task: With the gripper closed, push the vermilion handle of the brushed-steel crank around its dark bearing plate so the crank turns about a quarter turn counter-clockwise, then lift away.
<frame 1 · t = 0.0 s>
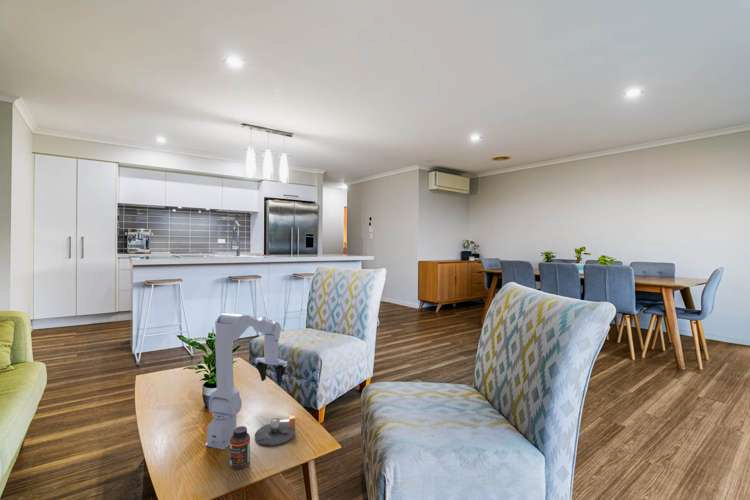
hand: (271, 381, 152), 10 cm above the table, fingers open, 7 cm apart
bearing plate: (275, 435, 129), on the table
crank: (282, 424, 130), point 4 cm above the table, hinge at 0.0°
supplement bottle: (240, 465, 112), on the table
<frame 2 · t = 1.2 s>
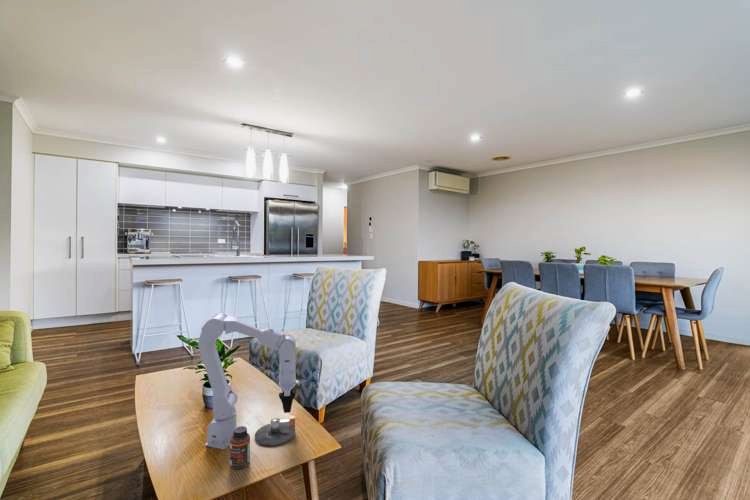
hand: (287, 407, 130), 10 cm above the table, fingers open, 7 cm apart
nothing on the table moved.
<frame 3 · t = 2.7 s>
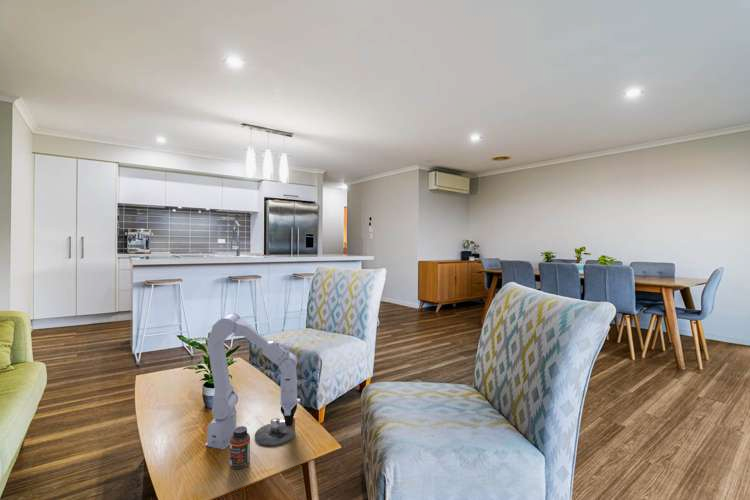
hand: (289, 425, 128), 4 cm above the table, fingers closed
crank: (282, 424, 130), point 4 cm above the table, hinge at 0.0°, touching gripper
everything else where it was.
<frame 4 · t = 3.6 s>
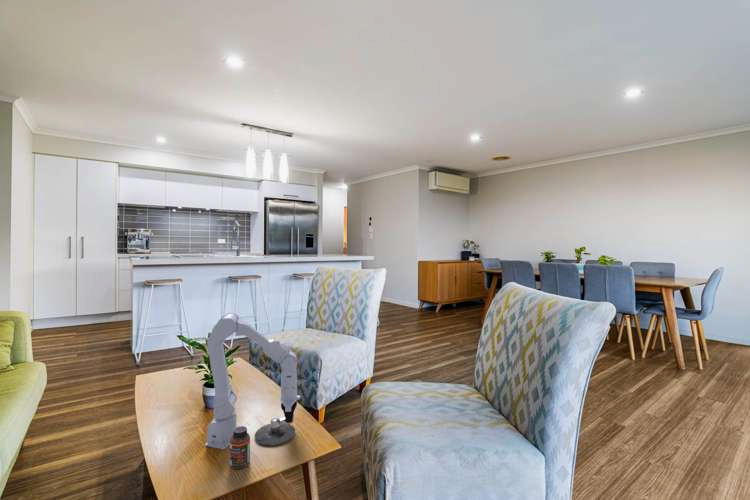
hand: (289, 422, 131), 4 cm above the table, fingers closed, pressing on crank
crank: (281, 422, 131), point 4 cm above the table, hinge at 32.2°, touching gripper
everything else where it was.
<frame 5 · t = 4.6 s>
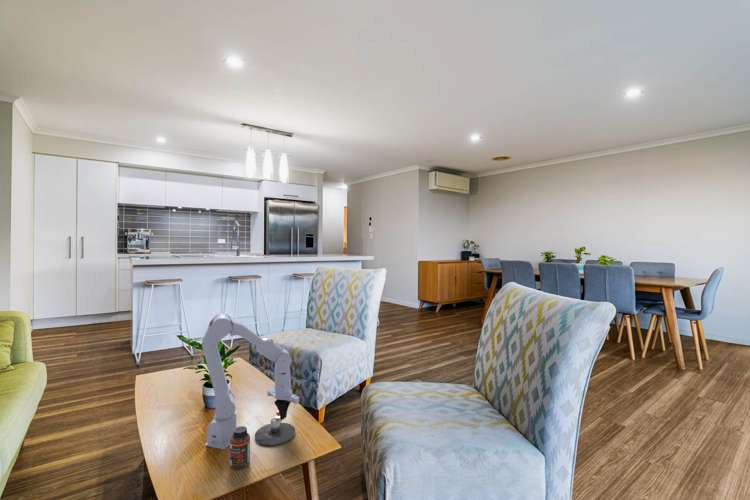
hand: (283, 418, 134), 4 cm above the table, fingers closed, pressing on crank
crank: (277, 421, 132), point 4 cm above the table, hinge at 77.0°, touching gripper
everything else where it was.
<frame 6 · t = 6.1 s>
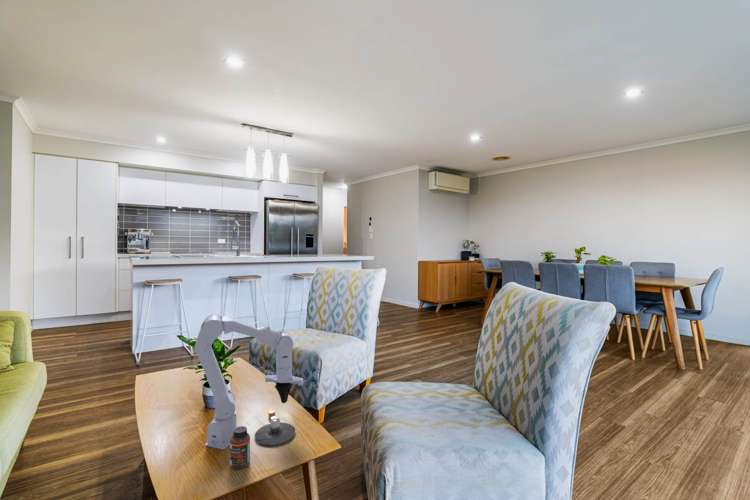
hand: (284, 401, 134), 10 cm above the table, fingers closed
crank: (273, 421, 131), point 4 cm above the table, hinge at 105.5°
everything else where it was.
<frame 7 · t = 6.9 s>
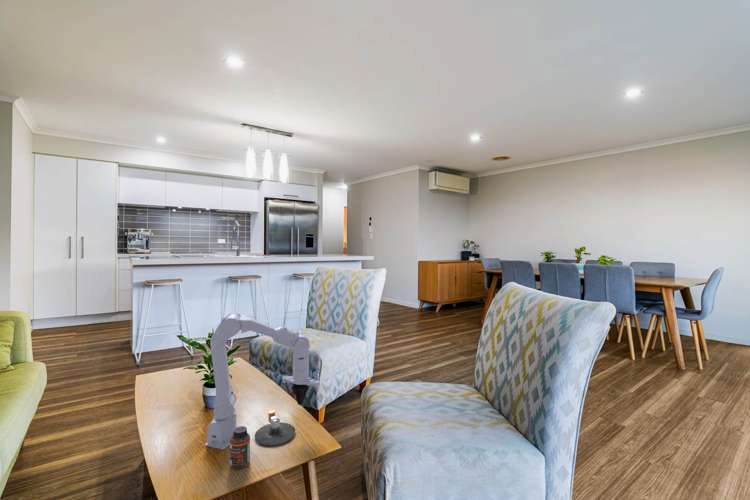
hand: (300, 403, 132), 10 cm above the table, fingers closed
nothing on the table moved.
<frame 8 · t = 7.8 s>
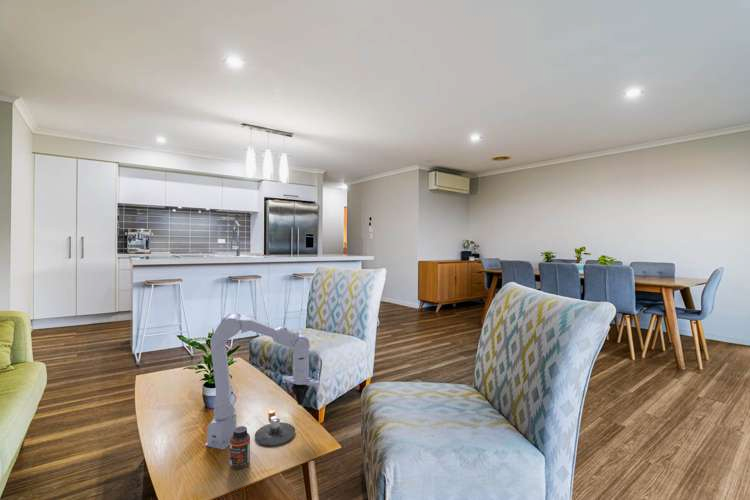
hand: (300, 403, 132), 10 cm above the table, fingers closed
nothing on the table moved.
at the end: crank at +106° (first picture: +0°) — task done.
